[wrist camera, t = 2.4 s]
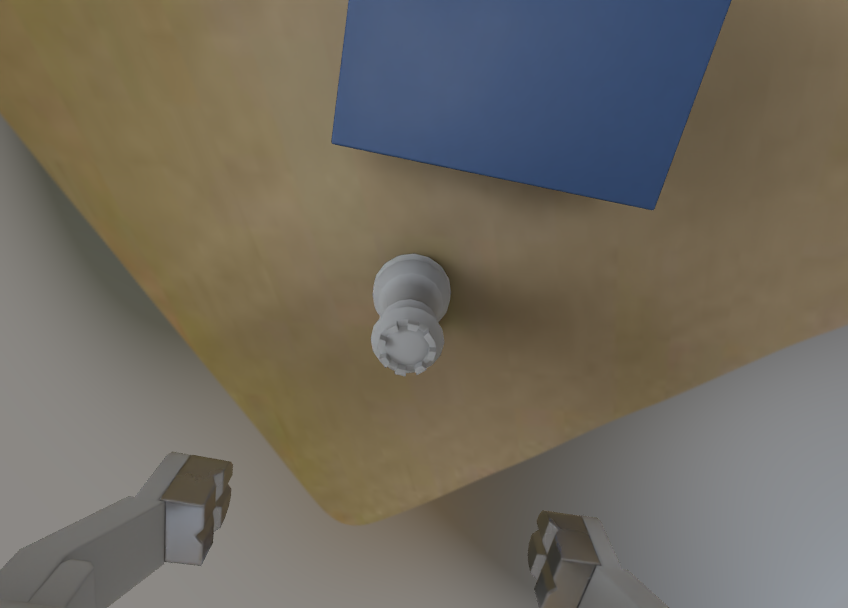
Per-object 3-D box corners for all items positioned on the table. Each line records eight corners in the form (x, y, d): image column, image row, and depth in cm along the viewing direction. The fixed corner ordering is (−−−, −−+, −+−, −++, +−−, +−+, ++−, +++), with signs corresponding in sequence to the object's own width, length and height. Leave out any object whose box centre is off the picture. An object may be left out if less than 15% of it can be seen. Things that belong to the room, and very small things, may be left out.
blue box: (664, -47, 22) (779, -126, 15) (591, 184, 26) (654, 211, 19) (394, -113, 21) (377, -230, 14) (358, 135, 25) (330, 143, 18)
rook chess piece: (361, 305, 29) (338, 371, 21) (392, 238, 27) (379, 284, 20) (430, 335, 29) (430, 410, 22) (464, 271, 28) (477, 328, 20)
